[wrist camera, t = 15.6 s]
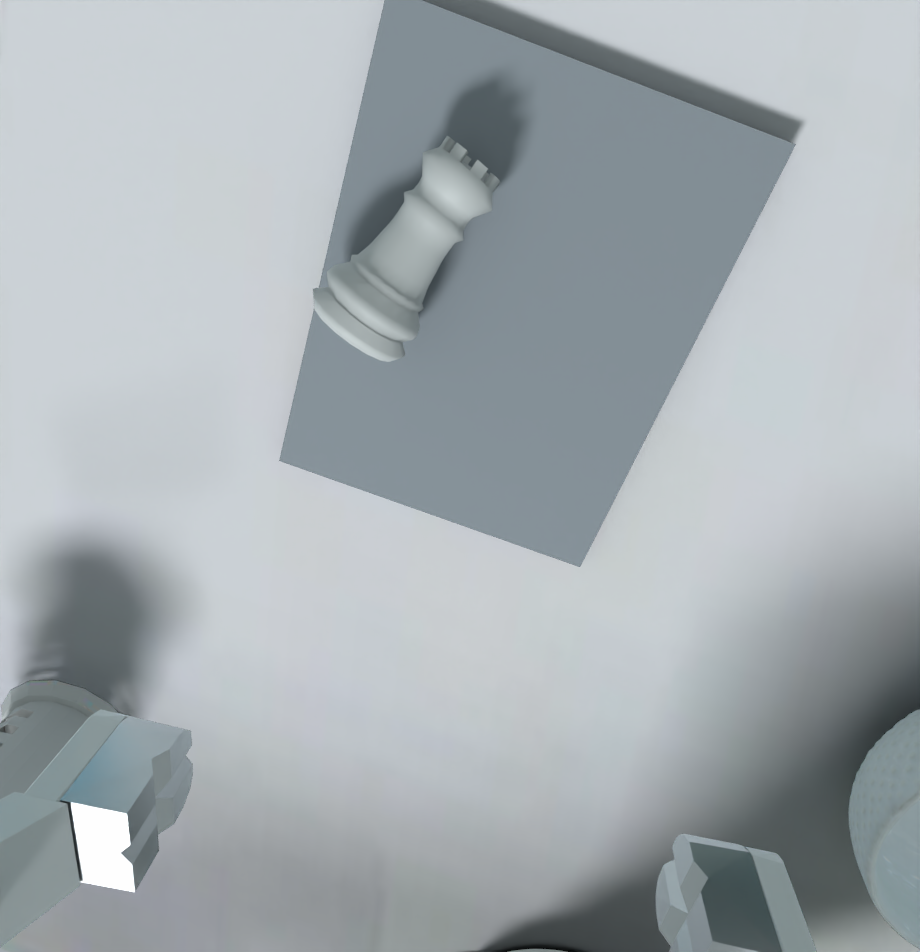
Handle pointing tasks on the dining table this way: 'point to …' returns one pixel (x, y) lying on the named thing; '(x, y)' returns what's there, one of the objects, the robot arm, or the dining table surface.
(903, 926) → the cereal bowl
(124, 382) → the dining table surface
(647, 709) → the dining table surface
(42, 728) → the french press
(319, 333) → the mat
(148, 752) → the robot arm
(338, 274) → the rook chess piece
